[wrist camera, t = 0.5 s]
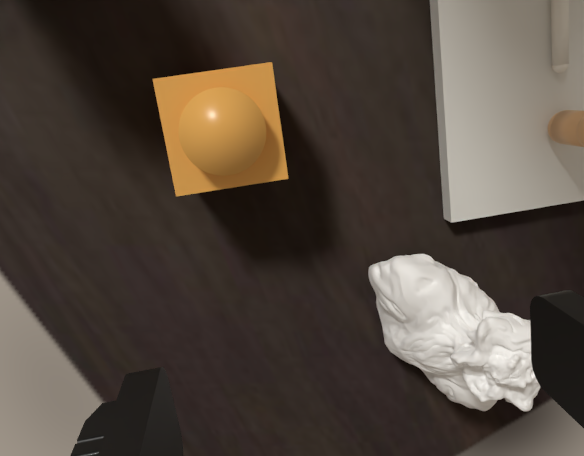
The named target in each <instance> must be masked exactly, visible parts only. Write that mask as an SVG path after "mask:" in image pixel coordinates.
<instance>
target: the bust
mask: <svg viewBox="0 0 584 456" xmlns="http://www.w3.org/2000/svg"><path fill="white" fill-rule="evenodd" d="M368 274H369V280H370V283H371V285H372V287H373V289H374V291H375V293H376V305H377V309H378V312H379V316H380V320H381V323H382V328H383V334H384V342H385V344H386V346H387V347H388V349H389V350H390V352H391V353H393V354H394V355H396V356H397V357H399V358H400V359H402V360H404V361H405V362H407V363H409V364H412V365H415V366H416V367H418V368H420V369H421V370H422V371H423V372H424V374H425V375H426V376H427V378H428V379H429V380H430V382H431V383H433V384H434V385H436V387H437V388H438V389H439V390H440V391H441V392H442V393H444V394H445V395H446V396H447V398H448V399H449V400H451V401H453V402H455V403H460V404H462V405H464V406H466V407H468V408H475V409H478V410H481V411H487V410H489V409H490V408H491V407H492V406H493V405H494V404H495V403H496V402H497V400H500V399H503V398H505V400H506V401H507V402H509V403H513V404H514V405H515V406H517V407H518V408H519V409H521V410H522V411H529V410H531V409H532V406H533V399H534V398H535V397H536V396H537V394H538V391H539V389H540V384H539V383H538V381H537V379H536V377H535V374H534V371H533V368H532V362H531V325H530V320H525V319H522V318H520V317H518V316H516V315H514V314H512V313H500V312H499V310H498V308H497V306H496V304H495V302H494V301H493V300H492V299H491V298H490V297H488V296H487V295H486V293H485V292H484V291H482V290H480V289H479V287H478V284H477V283H476V282H474V281H473V280H472V279H471V278H470V277H468V276H464V275H461V274H459V273H458V272H457V271H455V270H454V269H451V268H448V267H446V266H445V265H443V264H441V263H439V262H436V261H434V260H433V258H432V257H430V256H429V255H426V254H414V255H410V256H409V255H405V256H395V257H393V258H391V259H389V260H387V261H383V262H379V263H376V264H373V265H371V266H370V267H369V270H368Z"/></svg>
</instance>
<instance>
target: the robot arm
mask: <svg viewBox="0 0 584 456" xmlns="http://www.w3.org/2000/svg"><path fill="white" fill-rule="evenodd" d="M530 325H531V362H532V368H533V371H534V374H535V377H536V379H537V381H538V383H539V384H540V386H541V387H542V389H543V390H544V391H545V392H546V393H547V394H548V395H549V396H551V397H552V398H553V399H554V400H555V401H556V402H557V403H558V404H559V405H560V406H561V407H562V408H563V409H564V410H565V411H566V412H567V413H568V414H569V415H570V416H572V418H573V419H575V420H576V421H577V422H578V423H579V424H580V425H581V426H582V427H583V428H584V297H582V296H581V295H579V294H577V293H575V292H574V291H571V290H566V291H561V292H556V293H551V294H546V295H540V296H536V297H534V298H533V299H532V301H531V305H530ZM71 456H183V444H182V436H181V431H180V426H179V422H178V418H177V414H176V410H175V406H174V402H173V397H172V393H171V389H170V385H169V381H168V377H167V374H166V371H165V369H164V368H163V367H160V368H155V369H150V370H144V371H139V372H134V373H129V374H126V376H125V378H124V381H123V383H122V386H121V389H120V392H119V395H118V398H117V400H116V401H112V402H107V403H102V404H101V405H100V406H99V407H98V409H96V411H95V412H94V413H93V414H92V415H91V416H90V417H89V418H88V419H87V420H86V421H85V423H84V425H83V428H82V430H81V432H80V435H79V437H78V439H77V444H75V446H74V449H73V451H72V453H71Z"/></svg>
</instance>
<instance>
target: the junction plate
mask: <svg viewBox="0 0 584 456" xmlns="http://www.w3.org/2000/svg"><path fill="white" fill-rule="evenodd" d="M430 13H431V29H432V44H433V60H434V75H435V91H436V106H437V121H438V137H439V152H440V168H441V183H442V199H443V214H444V219H446V220H447V221H449V222H451V223H453V222H459V221H465V220H471V219H476V218H482V217H488V216H494V215H500V214H506V213H512V212H518V211H524V210H530V209H536V208H541V207H547V206H553V205H559V204H565V203H571V202H577V201H583V200H584V0H430Z"/></svg>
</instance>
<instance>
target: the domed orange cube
mask: <svg viewBox="0 0 584 456" xmlns="http://www.w3.org/2000/svg"><path fill="white" fill-rule="evenodd" d="M153 84H154V89H155V94H156V99H157V104H158V109H159V114H160V119H161V124H162V129H163V134H164V139H165V144H166V149H167V153H168V158H169V163H170V168H171V173H172V178H173V183H174V188H175V193H176V196H183V195H189V194H195V193H201V192H208V191H214V190H220V189H227V188H233V187H239V186H246V185H252V184H258V183H265V182H271V181H277V180H284V179H288V171H287V164H286V157H285V150H284V143H283V136H282V129H281V122H280V115H279V108H278V101H277V94H276V87H275V80H274V73H273V66H272V62H269V63H262V64H255V65H248V66H241V67H234V68H227V69H219V70H212V71H205V72H198V73H191V74H184V75H177V76H170V77H162V78H155V79H153Z"/></svg>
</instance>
